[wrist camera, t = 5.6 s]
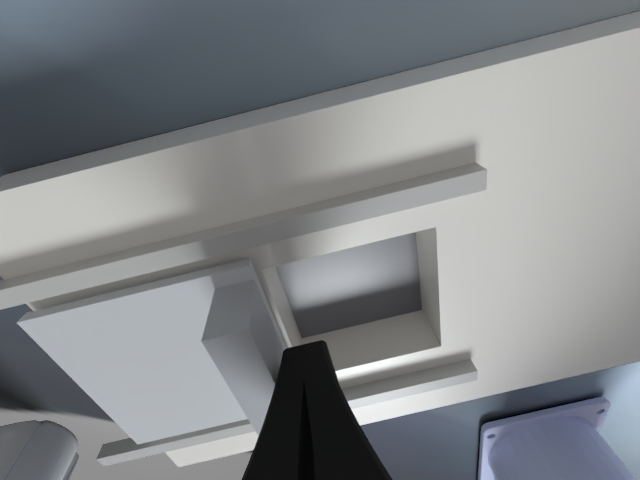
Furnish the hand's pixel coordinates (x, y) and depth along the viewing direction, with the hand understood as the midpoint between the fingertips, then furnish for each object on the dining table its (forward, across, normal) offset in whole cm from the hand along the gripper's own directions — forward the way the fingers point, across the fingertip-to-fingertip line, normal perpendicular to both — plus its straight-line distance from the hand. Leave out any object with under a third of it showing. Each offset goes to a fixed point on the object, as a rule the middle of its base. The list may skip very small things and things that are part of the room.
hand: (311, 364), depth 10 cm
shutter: (+1, +4, 0) cm, 5 cm away
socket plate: (+4, -2, 0) cm, 5 cm away
